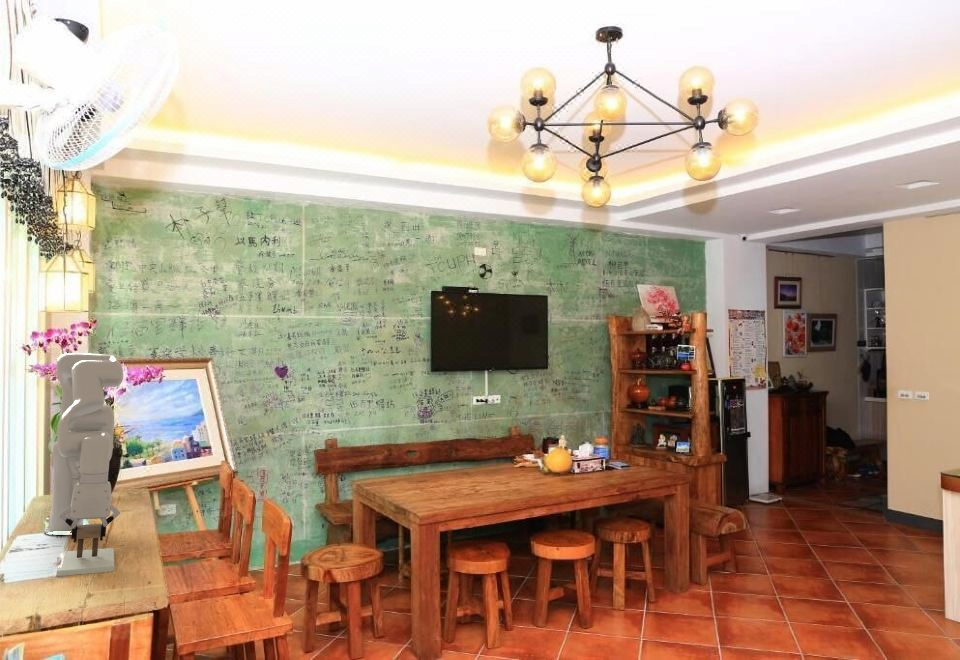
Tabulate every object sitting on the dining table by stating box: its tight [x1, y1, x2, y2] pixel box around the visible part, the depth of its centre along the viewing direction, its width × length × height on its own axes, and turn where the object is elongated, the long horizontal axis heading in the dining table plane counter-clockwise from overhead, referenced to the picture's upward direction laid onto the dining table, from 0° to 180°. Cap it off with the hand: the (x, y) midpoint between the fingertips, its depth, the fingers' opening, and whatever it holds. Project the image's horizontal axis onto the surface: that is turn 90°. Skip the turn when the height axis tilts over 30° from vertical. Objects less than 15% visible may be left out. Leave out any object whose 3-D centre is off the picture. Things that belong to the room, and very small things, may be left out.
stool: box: [76, 523, 102, 558], centre depth 199 cm, size 6×6×8 cm
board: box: [56, 547, 115, 577], centre depth 199 cm, size 18×14×2 cm
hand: (88, 539), depth 199 cm, fingers closed on stool, 6 cm apart
